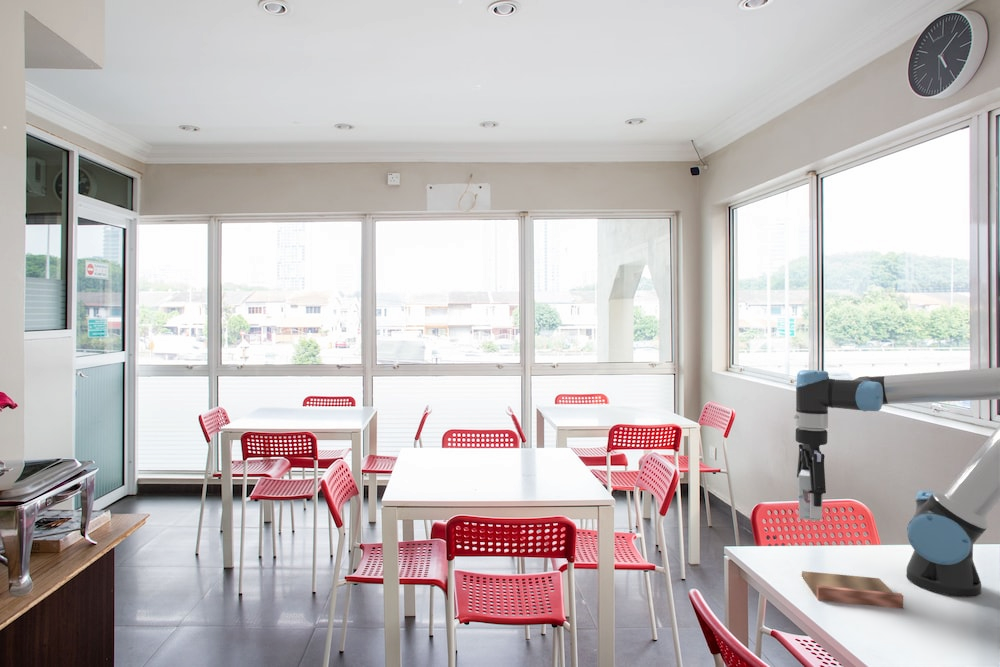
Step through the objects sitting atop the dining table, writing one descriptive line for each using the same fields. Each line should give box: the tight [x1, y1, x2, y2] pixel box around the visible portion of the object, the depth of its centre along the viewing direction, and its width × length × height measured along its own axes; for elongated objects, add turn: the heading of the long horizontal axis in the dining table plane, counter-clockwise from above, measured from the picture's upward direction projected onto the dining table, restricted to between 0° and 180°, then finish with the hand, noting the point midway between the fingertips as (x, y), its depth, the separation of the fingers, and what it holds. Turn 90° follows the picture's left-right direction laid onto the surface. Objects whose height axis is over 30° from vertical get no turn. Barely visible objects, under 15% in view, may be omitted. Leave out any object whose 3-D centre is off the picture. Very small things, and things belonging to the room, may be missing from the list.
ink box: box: [798, 470, 821, 522], centre depth 157 cm, size 9×5×12 cm, turn 147°
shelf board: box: [801, 570, 904, 610], centre depth 144 cm, size 18×13×3 cm
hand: (810, 512), depth 157 cm, fingers closed on ink box, 9 cm apart
